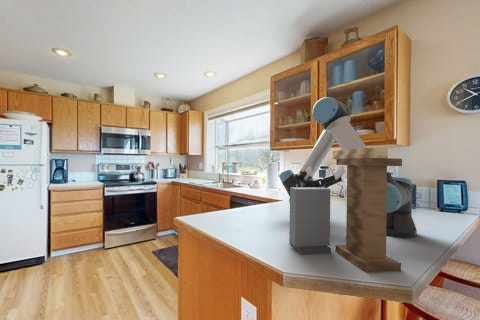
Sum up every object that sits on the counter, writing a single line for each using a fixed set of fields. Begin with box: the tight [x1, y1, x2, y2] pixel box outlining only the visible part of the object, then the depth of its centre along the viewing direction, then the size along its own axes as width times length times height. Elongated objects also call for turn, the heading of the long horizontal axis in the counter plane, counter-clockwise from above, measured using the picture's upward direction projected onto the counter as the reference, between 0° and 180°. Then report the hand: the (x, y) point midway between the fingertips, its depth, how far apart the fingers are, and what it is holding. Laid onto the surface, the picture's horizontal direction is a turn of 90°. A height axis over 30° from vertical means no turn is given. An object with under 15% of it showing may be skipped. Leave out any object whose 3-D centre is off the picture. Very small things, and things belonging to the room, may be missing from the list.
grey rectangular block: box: [288, 187, 332, 255], centre depth 79 cm, size 10×12×20 cm
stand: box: [334, 157, 403, 274], centre depth 70 cm, size 15×10×30 cm, turn 9°
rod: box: [332, 146, 389, 160], centre depth 74 cm, size 22×3×3 cm, turn 9°
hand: (327, 169), depth 92 cm, fingers open, 13 cm apart
